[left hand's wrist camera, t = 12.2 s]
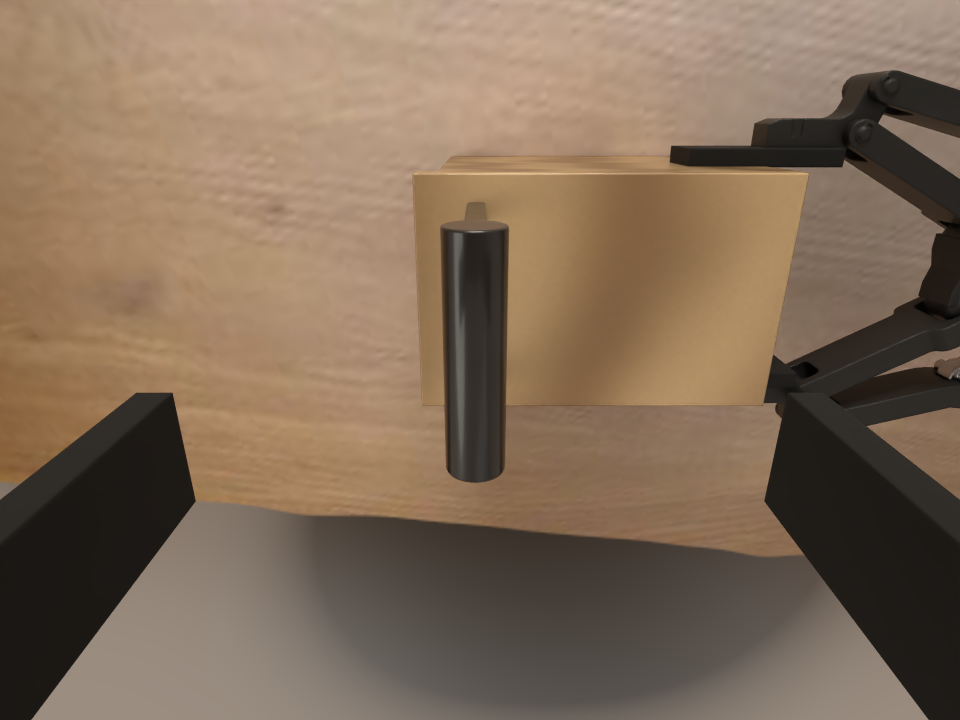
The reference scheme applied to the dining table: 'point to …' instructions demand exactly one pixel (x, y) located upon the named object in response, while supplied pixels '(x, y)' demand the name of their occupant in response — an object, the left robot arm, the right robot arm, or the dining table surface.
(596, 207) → the lid
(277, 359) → the dining table surface
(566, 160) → the chest
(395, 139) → the dining table surface
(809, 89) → the dining table surface
